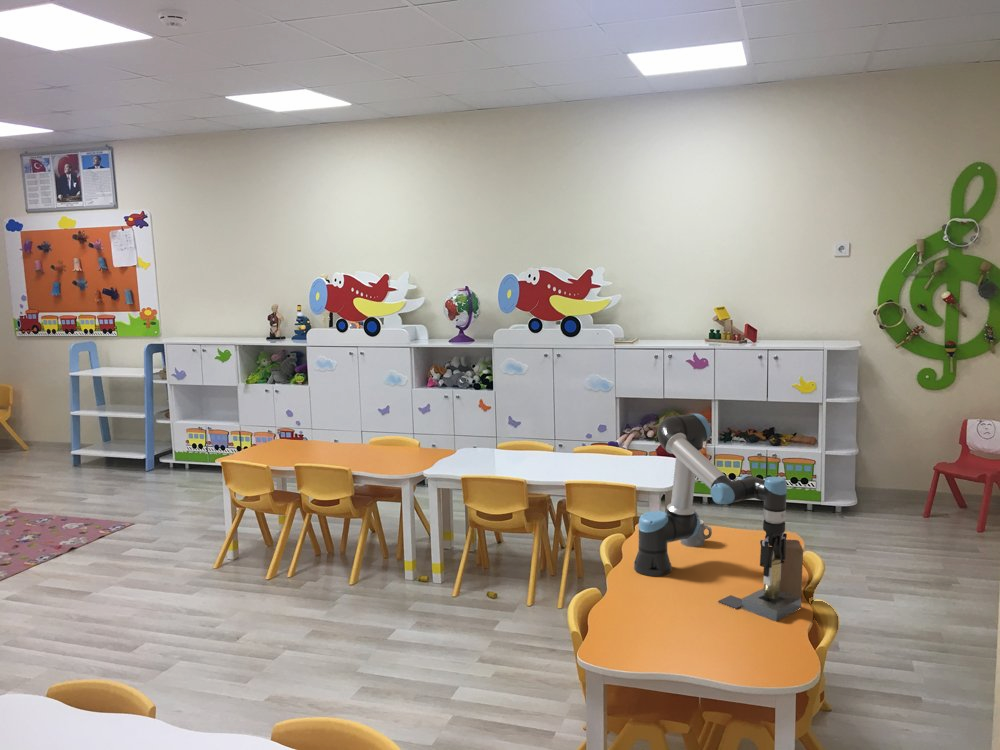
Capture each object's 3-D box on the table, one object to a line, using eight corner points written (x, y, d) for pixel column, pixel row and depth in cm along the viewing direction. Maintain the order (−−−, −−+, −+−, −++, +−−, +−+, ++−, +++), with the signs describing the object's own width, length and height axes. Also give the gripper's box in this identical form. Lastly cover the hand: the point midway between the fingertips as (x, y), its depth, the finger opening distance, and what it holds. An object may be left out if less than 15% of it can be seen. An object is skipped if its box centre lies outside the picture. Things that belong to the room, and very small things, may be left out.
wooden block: (801, 599, 304) (803, 548, 301) (773, 597, 306) (775, 546, 303) (797, 589, 313) (799, 539, 310) (770, 587, 315) (771, 537, 312)
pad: (717, 602, 302) (717, 600, 302) (730, 596, 307) (730, 595, 307) (736, 609, 296) (736, 607, 296) (749, 603, 301) (749, 601, 301)
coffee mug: (678, 545, 362) (679, 523, 361) (682, 538, 371) (683, 517, 370) (709, 548, 357) (710, 527, 356) (712, 541, 366) (713, 520, 365)
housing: (741, 608, 297) (742, 598, 296) (766, 596, 307) (767, 586, 306) (776, 621, 286) (776, 610, 285) (800, 608, 296) (801, 598, 295)
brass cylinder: (760, 595, 296) (762, 558, 294) (769, 591, 300) (770, 555, 298) (773, 600, 292) (775, 563, 290) (782, 596, 295) (783, 559, 293)
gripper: (769, 528, 283) (766, 592, 286) (797, 517, 294) (795, 578, 298) (750, 523, 289) (748, 585, 292) (779, 512, 300) (776, 572, 304)
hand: (771, 581), depth 295 cm, fingers closed on brass cylinder, 5 cm apart
